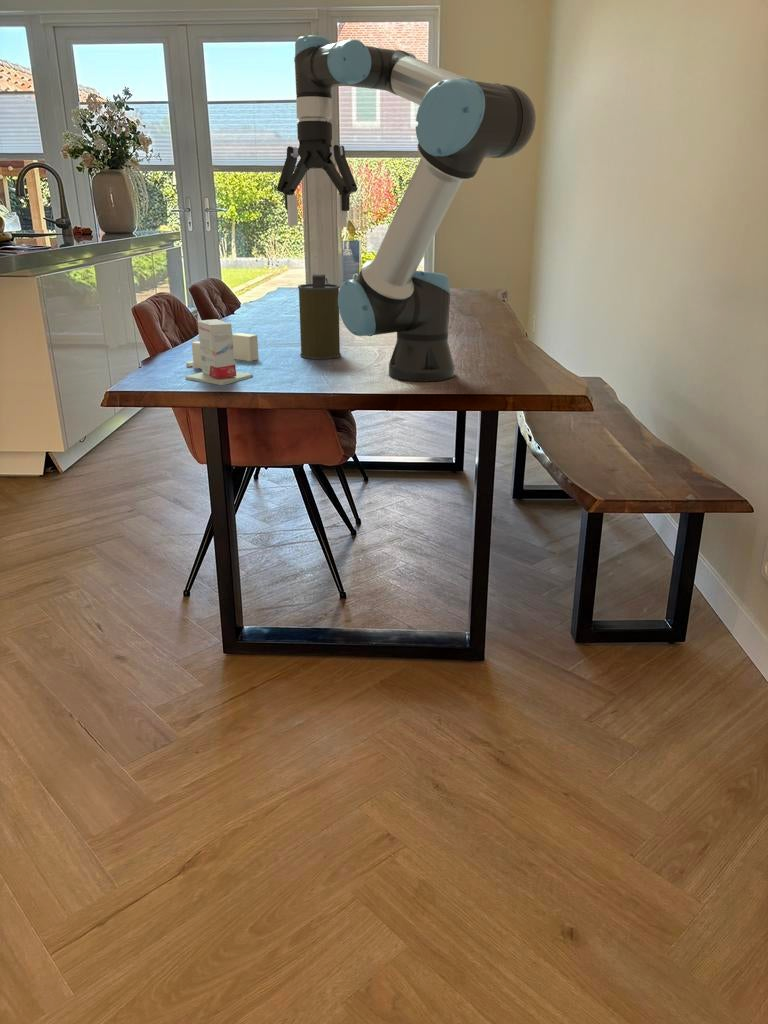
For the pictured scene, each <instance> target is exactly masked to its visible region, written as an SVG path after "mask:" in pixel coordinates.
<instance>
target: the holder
mask: <svg viewBox="0 0 768 1024" xmlns="http://www.w3.org/2000/svg"><path fill="white" fill-rule="evenodd" d="M232 339H233V349H234V358H235V360H239V359H240V360H239V361H245V360H246V361H247V362H254V361H257V360H258V361H259V343H258V341H259V340H258V334H251V333H242V332H237V333H232ZM191 348H192V349H191V350H192V360H191V361H188V362H187V361H186V362H185V363H186V368H191V367H190V366H192V367H193V368H194V369H198V368H200V370H202V362H201V351H200V341H199V340H198V341H193V342H191ZM253 360H254V361H253Z"/></svg>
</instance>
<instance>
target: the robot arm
mask: <svg viewBox="0 0 768 1024" xmlns="http://www.w3.org/2000/svg"><path fill="white" fill-rule="evenodd" d="M294 43H295V44H294V59H293V60H294V61H293V62H294V72H295V74H294V75H295V76H294V77H295V92H296V93H295V94H296V98H295V99H296V100H295V101H296V102H295V103H296V106H295V107H296V119H297V120H299V121H298V122H297V123H296V128H297V129H296V130H297V135H296V136H297V141H298V143H299V144H298V147H297V146H290V145H289V146H287V147H286V158H285V161H284V165H283V167H282V170H281V174H280V177H279V181H278V183H277V186H276V191H278V192H280V193H282V194H283V195H284V209H285V210H286V211H287V226H288V227H294V226H299V217H298V216H299V215H298V195H297V194H296V191H297V189H298V187H299V185H300V184H301V182H302V180H303V179H304V177H305V175H306V174H307V172H308V171H309V170H310V169H311V170H313V169H322V170H324V171H325V173H326V174H327V176H328V177H329V179H330V180H331V182H332V184H333V185H334V187H335V188H336V189H337V191H338V192H339V193H338V194H337V195H336V221H337V222H336V223H337V226H336V227H337V228H348V212H349V211H350V197H351V196H350V195H351V194H353V193H356V192H358V186H357V184H356V181H355V178H354V175H353V174H352V170H351V168H350V166H349V162H348V159H347V158H346V151H345V146H344V145H341V144H335V145H333V146H332V140H333V124H332V122H330V120H332V118H333V115H332V114H333V109H332V107H333V105H332V103H333V102H332V96H333V95H332V88H334V87H341V86H342V87H353V88H361V89H363V88H364V89H370V90H372V89H373V90H379V91H386V92H389V93H390V94H393V95H395V96H398V97H400V98H403V99H405V100H408V101H409V102H412V103H413V104H416V105H419V107H418V109H417V112H416V116H415V117H416V118H415V121H416V122H417V125H416V126H415V134H416V138H417V141H418V142H417V152H418V154H419V157H420V159H419V161H418V164H417V166H416V167H415V170H414V172H413V174H412V176H411V178H410V181H409V183H408V185H407V187H406V189H405V192H404V193H403V196H402V198H401V200H400V202H399V205H398V207H397V209H396V212H395V213H394V215H393V217H392V220H391V221H390V224H389V226H388V228H387V230H386V232H385V235H384V237H383V239H382V242H381V243H380V246H379V248H378V250H377V253H376V255H375V256H374V259H369V260H367V261H365V262H364V263H363V265H362V267H361V269H360V272H359V273H358V276H356V277H357V278H355V279H353V278H349V279H348V280H345V281H343V283H342V284H341V285H340V288H339V294H338V307H339V317H340V318H341V320H342V323H343V325H344V327H345V328H346V329H347V330H348V331H349V332H350V333H351V334H352V335H354V336H357V337H373V336H378V335H386V334H387V335H388V334H393V333H396V342H395V345H394V348H393V351H392V354H391V357H390V361H389V364H388V375H389V376H390V378H391V377H392V378H394V379H397V380H402V381H409V382H410V381H411V382H412V381H413V382H436V381H437V382H439V381H444V380H448V379H451V378H453V377H454V376H455V364H454V359H453V356H452V353H451V349H450V345H449V323H450V322H449V321H450V319H449V317H450V304H451V303H450V302H451V301H450V300H451V289H450V287H451V284H450V282H451V281H450V278H449V276H448V275H447V274H445V273H442V272H441V273H439V272H433V271H423V270H417V269H418V268H419V266H420V264H421V262H422V260H423V258H424V256H425V254H426V252H427V250H428V248H429V246H430V245H431V242H432V241H433V239H434V236H435V235H436V233H437V231H438V229H439V227H440V225H441V223H442V221H443V219H444V217H445V216H446V214H447V212H448V210H449V208H450V206H451V204H452V203H453V201H454V199H455V196H456V195H457V193H458V191H459V189H460V187H461V184H462V183H463V182H466V181H470V180H472V179H474V178H475V177H476V174H477V172H478V171H479V168H480V167H481V165H482V163H483V162H484V159H505V158H508V157H511V156H514V155H515V154H517V153H520V151H522V150H523V149H524V148H525V147H526V145H527V144H528V143H529V142H530V140H531V138H532V136H533V133H534V131H535V129H536V128H535V127H536V117H537V116H536V115H537V114H536V109H535V106H534V104H533V101H532V100H531V98H530V96H529V95H528V94H527V93H526V92H525V91H523V90H522V89H520V88H518V87H517V86H512V85H508V84H501V83H497V82H495V83H493V82H492V83H489V82H484V81H475V80H473V79H470V78H467V77H464V76H462V75H460V74H458V73H454V72H452V71H450V70H446V69H445V68H442V67H439V66H437V65H434V64H431V63H429V62H426V61H424V60H421V59H418V58H417V57H416V55H414V54H413V53H411V52H408V51H404V50H400V49H396V50H395V49H391V48H390V49H389V48H383V47H382V48H380V47H376V46H369V45H365V44H364V43H363V42H362V41H360V40H358V39H342V40H339V41H337V42H333V43H331V41H330V39H329V38H328V37H325V36H321V35H307V36H306V35H303V36H299V37H298V38H296V40H295V42H294ZM332 156H333V157H334V161H335V163H336V165H335V163H334V162H333V160H332V159H331V158H332ZM299 157H300V158H299ZM298 158H299V160H298ZM336 166H337V168H338V170H337V168H336Z"/></svg>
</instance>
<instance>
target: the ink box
mask: <svg viewBox="0 0 768 1024" xmlns="http://www.w3.org/2000/svg"><path fill="white" fill-rule="evenodd" d="M197 330H198V339H199V340H198V341H200V351H201V362H202V369H201V370H202V372H203V373H204V374H206V375H209V376H211V377H214V378H216V379H222V378H228V377H234V376H236V372H237V370H236V359H235V358H234V349H233V339H232V334H233V331H232V323H229V322H226V321H223V320H220V319H217V318H215V319H214V318H213V319H203V320H202V319H201V320H197Z"/></svg>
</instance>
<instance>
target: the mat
mask: <svg viewBox="0 0 768 1024" xmlns="http://www.w3.org/2000/svg"><path fill="white" fill-rule="evenodd" d="M253 375H254V374H252V373H246V372H241V371H236V376H234V377H228V378H222V379H216V378H214V377H211V376H209V375H206V374H204V373H203V371H202V372H197V373H194V374H190V375H185V380H189V381H196V382H201V383H206V384H212V385H219V386H226V385H228V384H232V383H236V382H240V381H243V380H246V379H250V378H253Z"/></svg>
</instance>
